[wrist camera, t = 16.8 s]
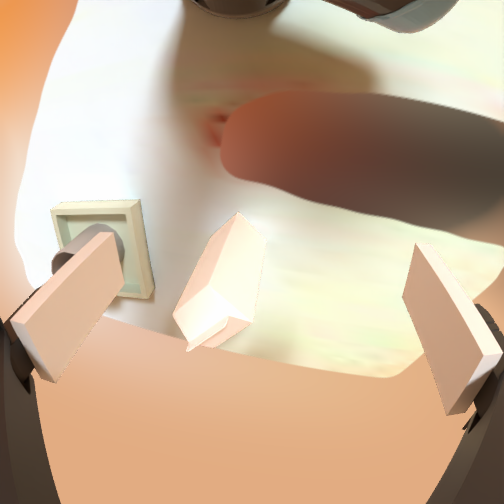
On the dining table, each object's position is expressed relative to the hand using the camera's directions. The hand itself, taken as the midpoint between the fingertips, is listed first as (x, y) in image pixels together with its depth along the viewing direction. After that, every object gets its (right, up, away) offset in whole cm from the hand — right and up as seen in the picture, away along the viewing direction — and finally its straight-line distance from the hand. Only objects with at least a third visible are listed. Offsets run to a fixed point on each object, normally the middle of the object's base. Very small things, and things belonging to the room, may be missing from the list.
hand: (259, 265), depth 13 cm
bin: (-25, +2, +38) cm, 46 cm away
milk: (-2, +3, +35) cm, 35 cm away
